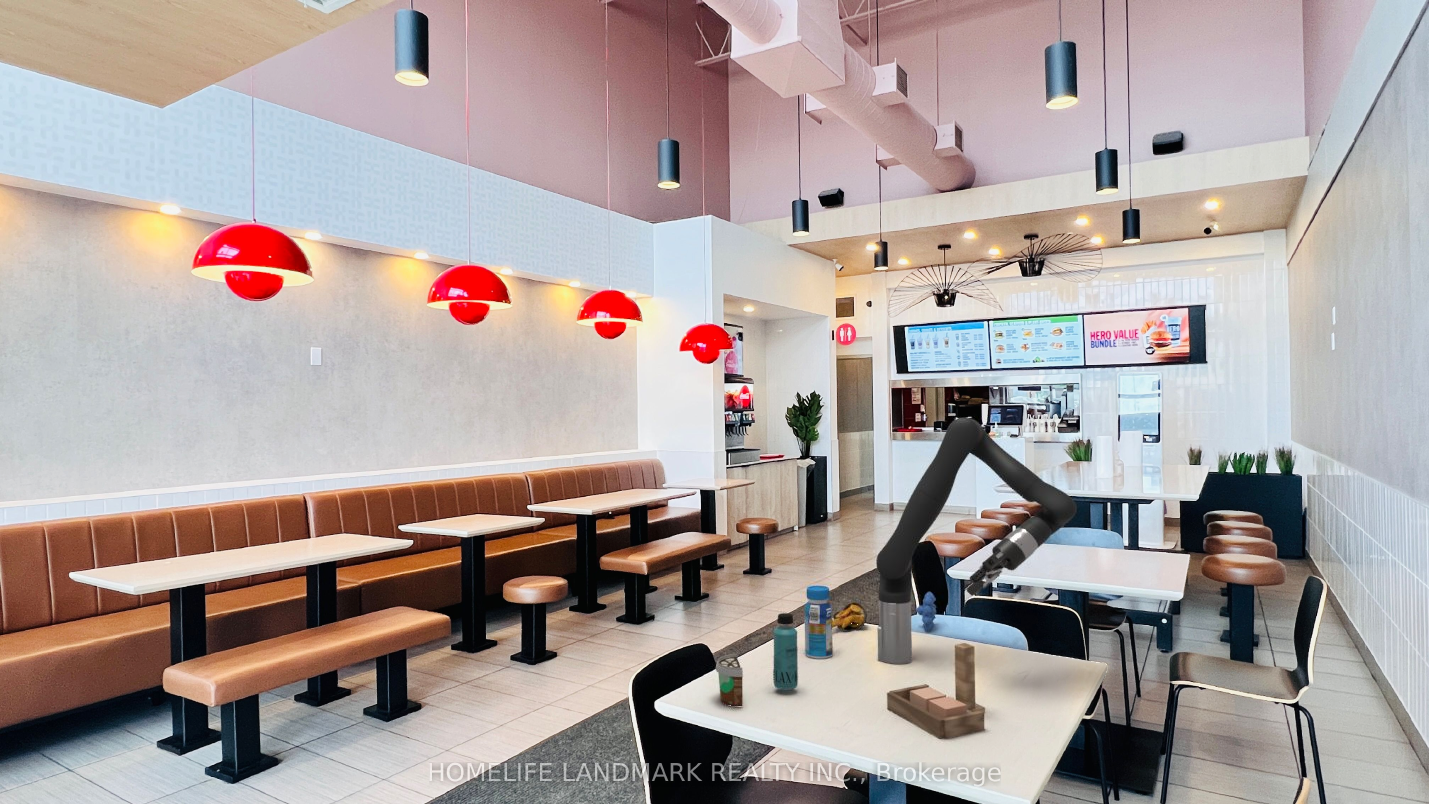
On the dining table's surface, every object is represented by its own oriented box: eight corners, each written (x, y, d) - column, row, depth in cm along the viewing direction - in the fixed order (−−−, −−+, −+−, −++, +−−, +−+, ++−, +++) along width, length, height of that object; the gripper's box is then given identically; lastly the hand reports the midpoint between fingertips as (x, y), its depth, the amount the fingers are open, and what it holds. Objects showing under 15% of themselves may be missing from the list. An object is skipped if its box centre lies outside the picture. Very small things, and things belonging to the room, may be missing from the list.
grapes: (919, 623, 268) (918, 587, 268) (939, 625, 265) (939, 589, 266) (912, 632, 258) (912, 595, 258) (933, 634, 255) (933, 597, 255)
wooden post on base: (957, 699, 199) (956, 635, 199) (1001, 720, 185) (1000, 651, 185) (928, 705, 195) (927, 640, 195) (971, 727, 182) (969, 657, 182)
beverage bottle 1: (768, 691, 206) (767, 614, 206) (784, 684, 211) (782, 609, 211) (788, 697, 202) (787, 618, 202) (803, 690, 206) (802, 613, 207)
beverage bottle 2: (799, 653, 238) (798, 586, 238) (823, 649, 241) (822, 583, 242) (814, 661, 230) (813, 592, 230) (838, 656, 234) (837, 588, 234)
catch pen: (926, 700, 199) (925, 684, 199) (984, 729, 180) (984, 712, 180) (885, 708, 194) (885, 691, 194) (941, 739, 175) (941, 721, 175)
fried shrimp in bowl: (878, 613, 264) (853, 606, 251) (862, 642, 264) (837, 637, 251) (856, 598, 270) (831, 591, 257) (841, 627, 270) (815, 621, 257)
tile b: (930, 707, 194) (929, 687, 194) (946, 716, 189) (946, 695, 189) (910, 711, 192) (909, 690, 192) (926, 720, 186) (925, 699, 186)
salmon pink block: (949, 717, 188) (949, 696, 188) (967, 726, 182) (966, 704, 182) (929, 721, 185) (928, 700, 185) (946, 731, 180) (945, 709, 180)
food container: (714, 692, 206) (713, 653, 206) (737, 691, 207) (737, 652, 207) (718, 710, 194) (717, 669, 194) (743, 709, 194) (742, 668, 194)
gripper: (1030, 548, 201) (984, 588, 198) (1022, 568, 213) (978, 607, 209) (1007, 527, 205) (961, 566, 201) (1000, 548, 217) (957, 586, 213)
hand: (970, 587), depth 205 cm, fingers open, 8 cm apart
